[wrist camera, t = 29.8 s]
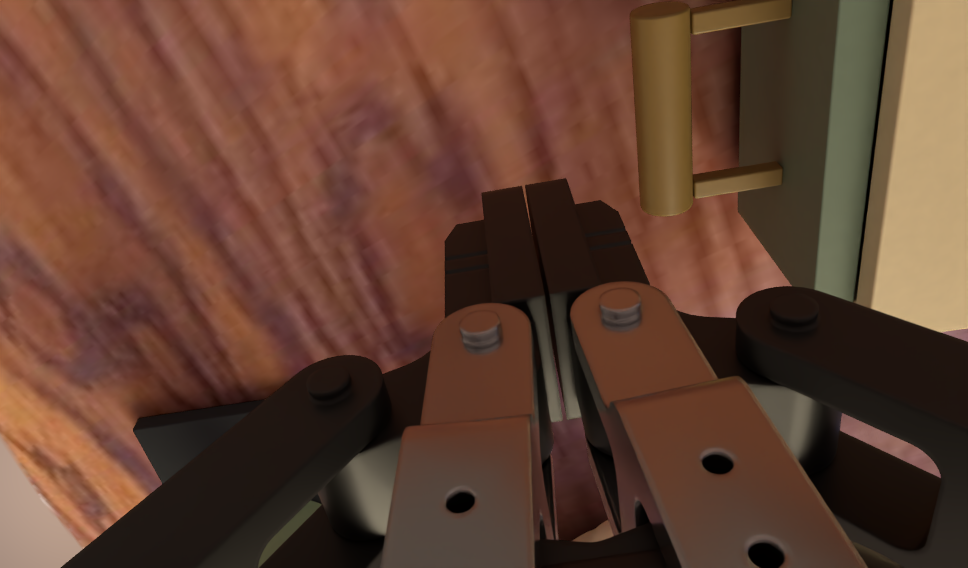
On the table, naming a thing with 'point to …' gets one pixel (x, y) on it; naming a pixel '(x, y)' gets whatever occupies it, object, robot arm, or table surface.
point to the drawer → (772, 124)
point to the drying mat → (187, 435)
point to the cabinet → (920, 172)
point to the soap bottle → (288, 530)
